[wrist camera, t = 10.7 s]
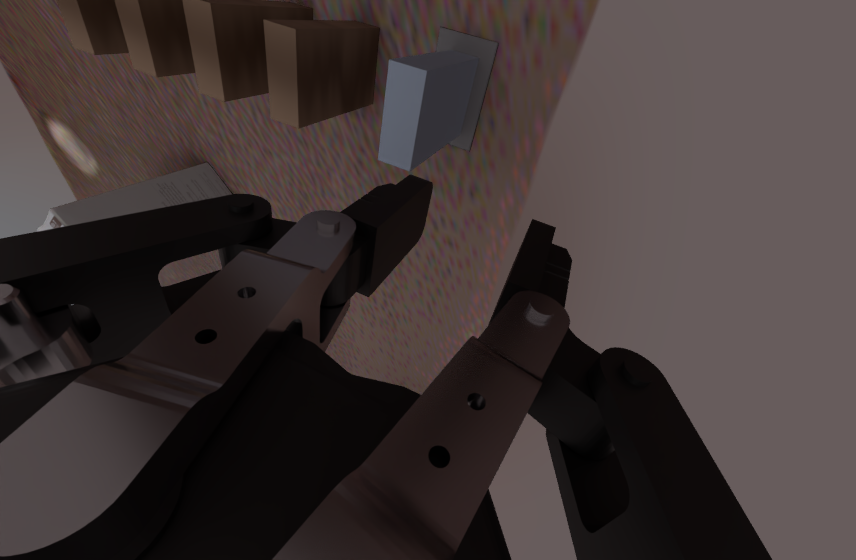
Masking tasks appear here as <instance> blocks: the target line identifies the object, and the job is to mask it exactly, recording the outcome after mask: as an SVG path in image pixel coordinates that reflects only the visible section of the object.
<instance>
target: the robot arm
mask: <svg viewBox="0 0 856 560" xmlns="http://www.w3.org/2000/svg"><path fill="white" fill-rule="evenodd" d="M432 189H433V184H432V182H430V181H427V180H424V179H422V178H419V177H416V176H413V175H409V176H407V177H406V178H404V179H403V180H402V181H400V182H399V183H398V184H396V185H394V184H391V183H390V184H386V185H382V186H377V187H376V188H374V189H373V190H372V191H370V192H369V193H368V194H366V195H364V196H363V197H361V199H359V200H357V201H356V202H354V203H353V204H351V205H350V206H348V207H347V208H346V209H344V210H343V211H341V212H336V211H330V210H320V211H314V212H311V213H308V214H306V215H304V216H303V217H302V218H301V219H300V220H299V221H298V222H291V221H286V220H280V219H275V218H272V212H271V205H270V203H269V202H268V201H267V200H265V199H264V198H261V197H259V196H255V195H250V194H232V195H226V196H221V197H215V198H210V199H205V200H200V201H195V202H189V203H184V204H179V205H174V206H169V207H163V208H158V209H153V210H148V211H143V212H137V213H132V214H127V215H122V216H116V217H111V218H106V219H101V220H96V221H90V222H85V223H80V224H75V225H70V226H64V227H59V228H54V229H49V230H44V231H38V232H33V233H29V234H23V235H18V236H12V237H7V238H2V239H0V560H511V557H510V554H509V551H508V548H507V545H506V542H505V538H504V535H503V532H502V529H501V526H500V524H499V520H498V517H497V514H496V511H495V508H494V504H493V501H492V499H491V495H490V492H489V489H488V488H489V486H490V484H491V482H492V480H493V478H494V476H495V474H496V472H497V471H498V469H499V467H500V464H501V463H502V461H503V459H504V457H505V455H506V453H507V451H508V449H509V447H510V445H511V443H512V441H513V439H514V437H515V436H516V433H517V432H518V430H519V428H520V426H521V424H522V422H523V420H524V418H525V416H526V414H527V413H528V414H530V415H531V416H532V417H533V418H534V419H536V420H537V421H538V422H539V423H541V424H542V425H543V426H544V427H545V428H546V437H547V442H548V446H549V450H550V453H551V457H552V462H553V466H554V470H555V474H556V478H557V482H558V485H559V490H560V494H561V497H562V501H563V505H564V509H565V513H566V517H567V521H568V525H569V529H570V533H571V537H572V541H573V545H574V549H575V553H576V557H577V560H772V558H771V557H770V555H769V553H768V552H767V550H766V548H765V547H764V545H763V543H762V541H761V540H760V538H759V536H758V535H757V533H756V531H755V530H754V528H753V526H752V524H751V523H750V521H749V519H748V518H747V516H746V514H745V513H744V511H743V509H742V507H741V506H740V504H739V502H738V501H737V499H736V497H735V496H734V494H733V492H732V491H731V489H730V487H729V485H728V484H727V482H726V480H725V479H724V477H723V475H722V474H721V472H720V470H719V468H718V467H717V465H716V463H715V462H714V460H713V458H712V457H711V455H710V453H709V451H708V450H707V448H706V446H705V445H704V443H703V441H702V439H701V438H700V436H699V435H698V433H697V431H696V429H695V428H694V426H693V424H692V423H691V421H690V419H689V417H688V416H687V414H686V412H685V411H684V409H683V408H682V406H681V404H680V402H679V400H678V399H677V397H676V396H675V394H674V392H673V390H672V389H671V387H670V385H669V384H668V382H667V380H666V378H665V377H664V375H663V374H662V373H661V372H660V370H659V369H658V368H657V367H656V366H655V365H654V364H652V363H651V362H650V361H649V360H647V359H646V358H644V357H643V356H641V355H639V354H638V353H635V352H633V351H631V350H628V349H624V348H616V347H615V348H609V349H606V350H605V351H604V352H603V353H602V354H600V353H598V352H597V351H595V350H594V349H592V348H591V347H589V346H587V345H586V344H585V343H584V342H582V341H581V340H580V339H579V338H577V337H576V336H575V335H574V334H573V333H572V331H571V330H570V329H569V325H570V319H569V315H568V313H567V312H566V310H565V309H564V307H565V301H566V295H567V289H568V283H569V281H568V280H569V276H570V270H571V263H572V259H571V257H570V255H569V253H568V251H567V249H565V248H562V247H560V246H557V245H554V244H552V240H553V236H554V232H555V229H556V227H553V226H550V225H547V224H545V223H542V222H539V221H537V220H534V219H532V221H531V224H530V226H529V228H528V231H527V233H526V235H525V238H524V240H523V242H522V245H521V247H520V249H519V252H518V254H517V257H516V259H515V261H514V263H513V266H512V268H511V271H510V273H509V276H508V278H507V280H506V283H505V285H504V288H503V290H502V293H501V295H500V298H499V300H498V302H497V305H496V307H495V310H494V312H493V315H492V317H491V320H490V322H489V325H488V327H487V328H486V329H485V330H484V332H483V333H482V334H481V335H480V336H479V338H478V339H477V338H476V337H474V336H472V337H471V338H470V339H468V340H467V342H466V343H465V344H464V345H463V346H462V347H461V349H460V350H459V351H458V352H457V353H456V354H455V356H454V357H453V358H452V359H451V360H450V362H449V363H448V364H447V365H446V366H445V367H444V369H443V370H442V371H441V372H440V373H439V375H438V376H437V377H436V378H435V379H434V380H433V382H432V383H431V384H430V385H429V386H428V387H427V389H426V390H425V391H424V392H423V393H422V395H420V394H418V393H416V392H414V391H412V390H409V389H407V388H405V387H403V386H399V385H394V384H390V383H386V382H381V381H377V380H373V379H368V378H364V377H360V376H355V375H352V374H350V373H349V372H347V371H346V370H345V369H344V368H342V367H341V366H340V365H339V364H338V363H337V362H335V361H334V360H333V359H332V358H331V357H330V356H329V355H327V354H326V353H325V351H326V349H327V348H328V346H329V344H330V342H331V340H332V339H333V337H334V335H335V333H336V331H337V329H338V328H339V326H340V324H341V322H342V320H343V318H344V317H345V315H346V313H347V311H348V309H349V307H350V298H351V297H352V296H353V295H354V294H355V293H356V292H358V293H360V294H363V295H365V296H367V297H369V296H370V295H371V294H372V293H373V292H374V291H375V290H376V289H377V287H378V286H379V285H380V284H381V283H382V282H383V281H384V279H385V278H386V277H387V276H388V275H389V274H390V273H391V272H392V270H393V269H394V268H395V267H396V266H397V265H398V264H399V263H400V261H401V260H402V259H403V258H404V257H405V256H406V255H407V254H408V252H409V251H410V250H411V249H412V248H413V247H414V246H415V245H416V243H417V242H418V241H419V239H420V237H421V235H422V233H423V230H424V226H425V222H426V217H427V213H428V208H429V204H430V199H431V194H432ZM217 249H218V251H219V256H220V260H221V265H222V269H221V270H218V271H215V272H212V273H209V274H205V275H202V276H199V277H196V278H193V279H189V280H186V281H183V282H180V283H177V284H173V285H170V286H165V287H161V286H160V283H159V280H158V274H159V272H160V270H161V269H162V268H163V267H164V266H165V265H167V264H169V263H171V262H174V261H177V260H181V259H185V258H188V257H192V256H195V255H199V254H203V253H206V252H210V251H213V250H217ZM71 304H74V305H72V306H71Z"/></svg>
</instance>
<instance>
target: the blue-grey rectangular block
mask: <svg viewBox="0 0 856 560" xmlns="http://www.w3.org/2000/svg"><path fill="white" fill-rule="evenodd" d="M478 60H479V58H477V57H474V56H470V55H467V54H463V53H460V52H457V51H453V50H447V51H441V52H434V53H428V54H422V55H415V56H409V57H402V58H396V59H389V66H388V75H387V84H386V93H385V102H384V110H383V119H382V128H381V137H380V146H379V155H378V160H380V161H382V162H385V163H388V164H391V165H393V166H396V167H399V168H401V169H404V170H407V171H411V170H412V169H414V168H415V167H417V166H418V165H419V164H421V163H422V162H423V161H425V160H426V159H427V158H429V157H430V156H432V155H433V154H434V153H436V152H437V151H438V150H440V149H441V148H443V147H444V146H445V145H447V144H448V143H449V142H451V141H452V140H453V139H455V138H456V137H458V136H459V135H460V133H461V129H462V125H463V121H464V117H465V113H466V109H467V105H468V101H469V97H470V93H471V89H472V85H473V81H474V77H475V72H476V68H477V64H478Z"/></svg>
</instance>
